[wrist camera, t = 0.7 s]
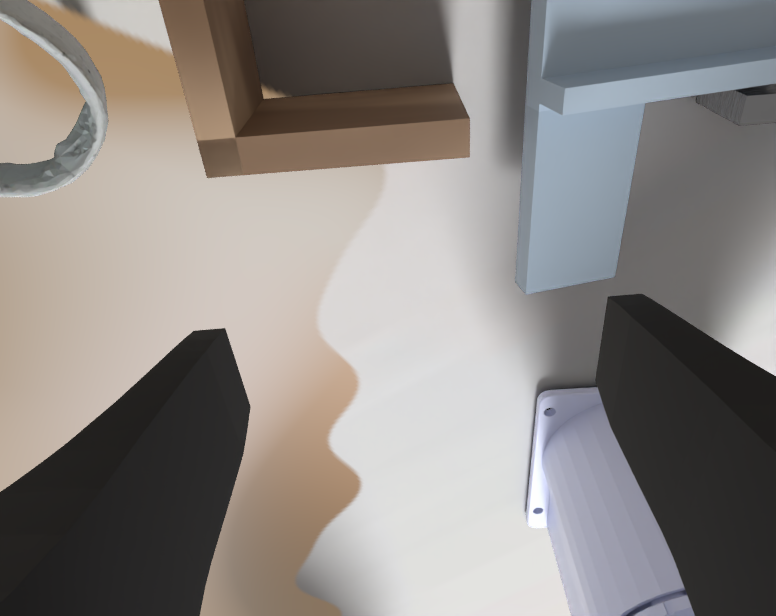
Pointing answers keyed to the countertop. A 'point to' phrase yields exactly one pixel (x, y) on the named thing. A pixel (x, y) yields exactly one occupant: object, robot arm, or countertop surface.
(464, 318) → the countertop surface
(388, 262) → the countertop surface
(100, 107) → the ceramic mug
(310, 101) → the pocket
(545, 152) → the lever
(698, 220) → the countertop surface
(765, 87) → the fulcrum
